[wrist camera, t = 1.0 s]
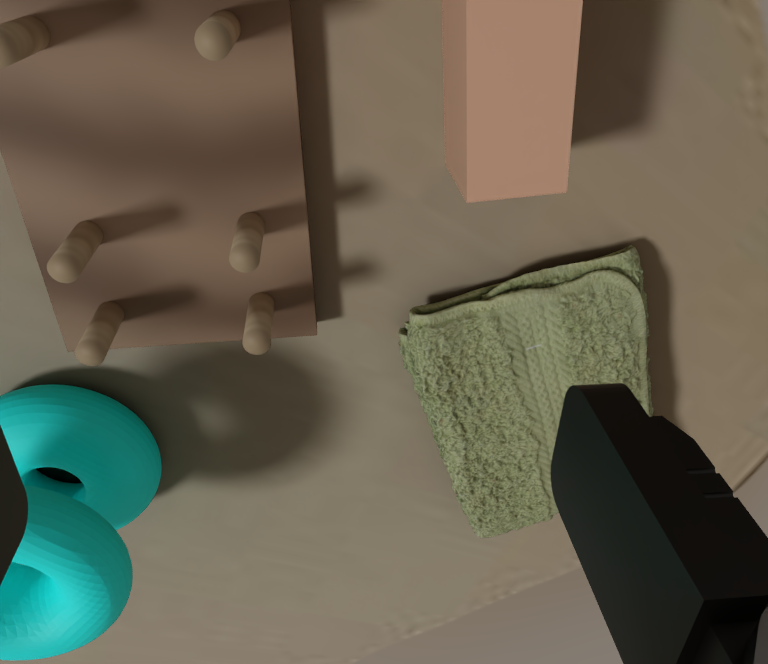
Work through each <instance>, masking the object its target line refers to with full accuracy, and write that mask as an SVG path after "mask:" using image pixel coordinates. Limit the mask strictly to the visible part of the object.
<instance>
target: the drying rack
mask: <svg viewBox="0 0 768 664" xmlns="http://www.w3.org/2000/svg"><path fill="white" fill-rule="evenodd" d="M0 150H1V153H2V156H3V159H4V162H5V165H6V168H7V171H8V174H9V177H10V180H11V183H12V186H13V189H14V192H15V195H16V198H17V201H18V204H19V207H20V210H21V213H22V216H23V219H24V222H25V225H26V228H27V231H28V234H29V237H30V240H31V243H32V246H33V249H34V252H35V255H36V258H37V261H38V264H39V267H40V270H41V273H42V276H43V279H44V282H45V285H46V288H47V291H48V294H49V297H50V300H51V303H52V306H53V309H54V312H55V315H56V318H57V321H58V324H59V327H60V330H61V333H62V336H63V339H64V342H65V345H66V348H67V351H68V352H71V351H75V356H76V358H77V360H78V361H80V362H81V363H82V364H85V365H88V366H96V365H99V364H101V363H102V362H103V361H104V358H105V356H106V354H107V352H108V350H109V349H116V348H131V347H147V346H162V345H177V344H192V343H207V342H222V341H237V340H243V342H242V343H243V347H244V349H245V350H246V351H247V352H249V353H251V354H254V355H260V354H264V353H265V352H267V351H268V350H269V348H270V346H271V338H282V337H297V336H313V335H317V318H316V306H315V294H314V282H313V270H312V258H311V247H310V235H309V223H308V211H307V199H306V187H305V175H304V163H303V151H302V139H301V127H300V115H299V103H298V91H297V80H296V68H295V56H294V44H293V32H292V20H291V8H290V0H0Z"/></svg>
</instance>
